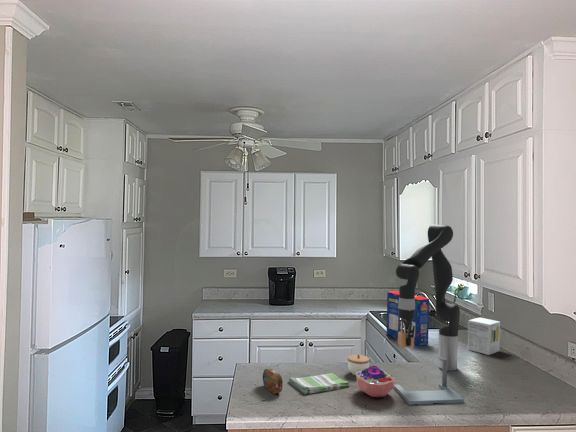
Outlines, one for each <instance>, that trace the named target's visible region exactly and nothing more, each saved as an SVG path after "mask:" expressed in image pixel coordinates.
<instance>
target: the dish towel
mask: <svg viewBox="0 0 576 432" xmlns="http://www.w3.org/2000/svg"><path fill="white" fill-rule="evenodd" d="M288 382H290V383H289V384H290V385H292V386H294V387H295V388H296V389H297V390H299V391H300V393H303V394H304V395H310V394H316V393H323V392H329V391H334V390H341V389H346V388H349V387H350V385H349V384H350V383H349V381H347V380H344V379H342V378H339V376H337V375H336V374H335V373H334V372H330V373H324V374H318V375H312V376H310V375H309V376H303V377H293V376H292V377H290V378H289V379H288Z"/></svg>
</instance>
